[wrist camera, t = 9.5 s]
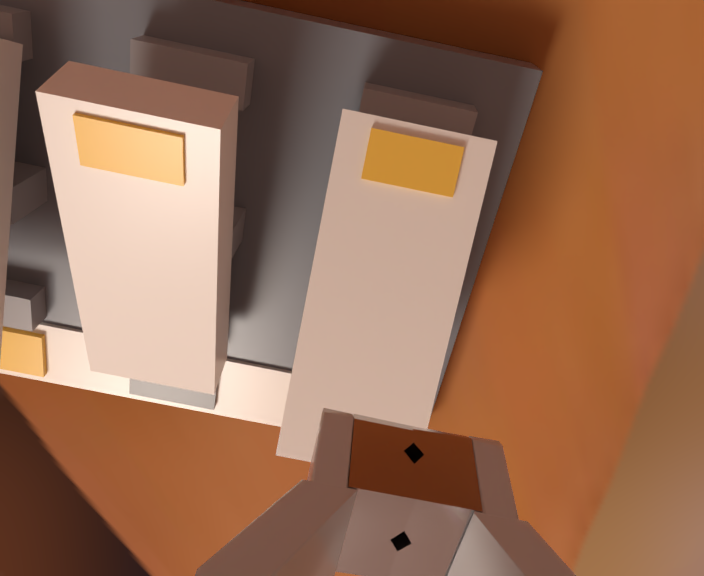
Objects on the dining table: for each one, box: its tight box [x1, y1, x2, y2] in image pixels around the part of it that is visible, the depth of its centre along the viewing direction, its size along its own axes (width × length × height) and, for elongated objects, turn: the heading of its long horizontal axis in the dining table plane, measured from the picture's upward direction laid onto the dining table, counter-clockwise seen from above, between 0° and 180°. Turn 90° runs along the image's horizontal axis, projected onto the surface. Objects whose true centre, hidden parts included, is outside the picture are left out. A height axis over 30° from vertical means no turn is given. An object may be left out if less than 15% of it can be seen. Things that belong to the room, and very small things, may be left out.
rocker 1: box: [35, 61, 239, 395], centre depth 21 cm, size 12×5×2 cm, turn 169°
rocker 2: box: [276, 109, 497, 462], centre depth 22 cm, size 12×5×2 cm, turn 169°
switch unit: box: [0, 0, 543, 427], centre depth 25 cm, size 18×24×5 cm
